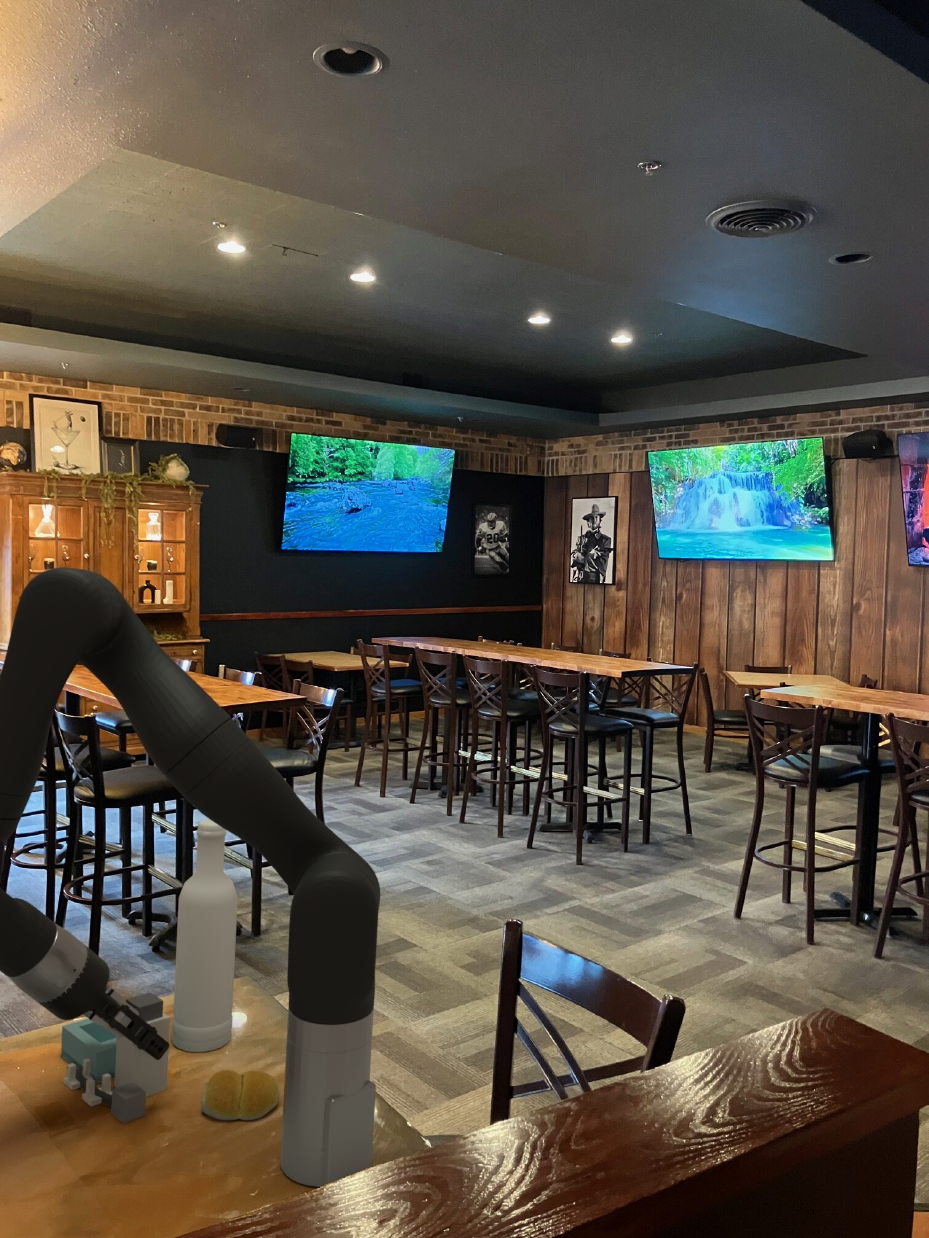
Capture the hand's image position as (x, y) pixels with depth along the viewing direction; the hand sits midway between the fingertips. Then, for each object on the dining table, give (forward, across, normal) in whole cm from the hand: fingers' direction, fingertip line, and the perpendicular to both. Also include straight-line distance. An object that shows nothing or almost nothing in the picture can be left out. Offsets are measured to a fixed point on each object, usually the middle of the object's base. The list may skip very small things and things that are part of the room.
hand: (145, 1039), depth 120 cm
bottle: (+13, +6, -4) cm, 15 cm away
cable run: (0, +1, +8) cm, 8 cm away
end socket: (+5, +9, +4) cm, 11 cm away
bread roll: (+9, -11, 0) cm, 14 cm away
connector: (+4, 0, +4) cm, 6 cm away
